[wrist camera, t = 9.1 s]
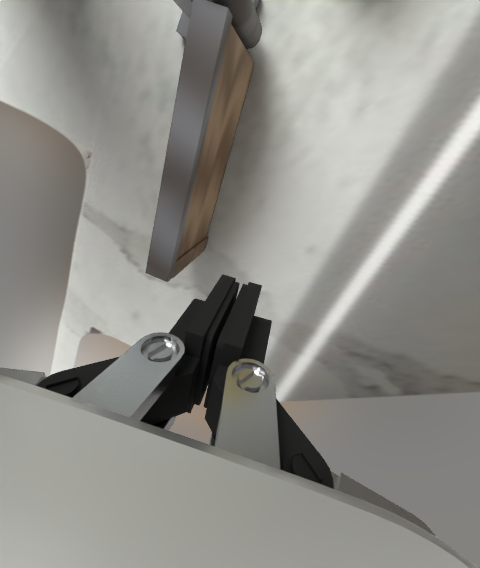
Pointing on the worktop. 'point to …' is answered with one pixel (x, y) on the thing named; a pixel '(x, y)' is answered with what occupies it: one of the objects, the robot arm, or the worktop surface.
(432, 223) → the worktop surface
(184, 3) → the gate post
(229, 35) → the gate
